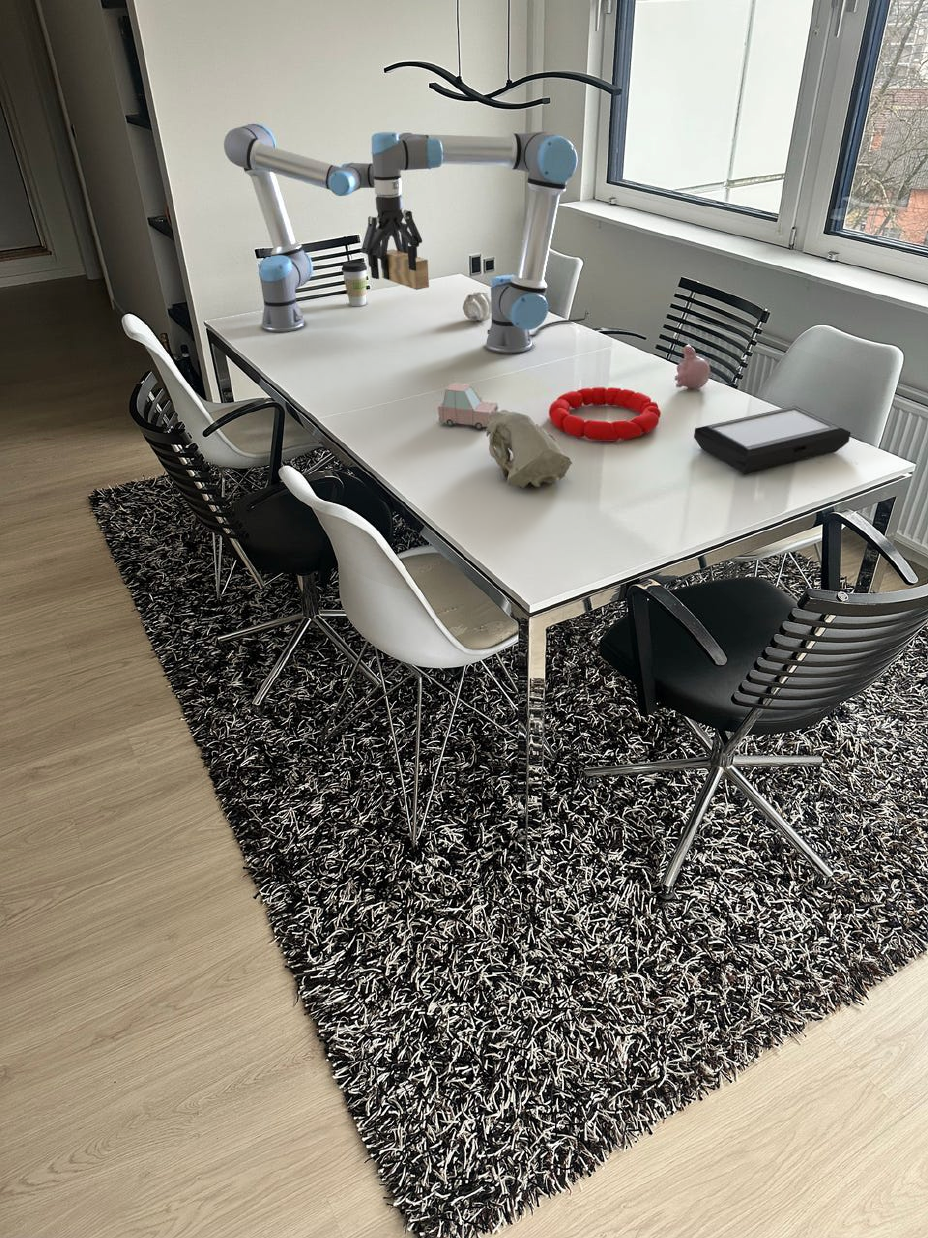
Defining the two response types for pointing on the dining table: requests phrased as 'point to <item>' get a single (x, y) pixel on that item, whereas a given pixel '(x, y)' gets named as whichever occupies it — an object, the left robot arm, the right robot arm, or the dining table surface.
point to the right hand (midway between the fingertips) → (394, 273)
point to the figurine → (692, 370)
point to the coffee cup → (355, 282)
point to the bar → (407, 270)
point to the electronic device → (771, 439)
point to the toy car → (465, 406)
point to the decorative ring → (604, 428)
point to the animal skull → (525, 450)
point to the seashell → (477, 306)
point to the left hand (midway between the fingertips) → (393, 276)
